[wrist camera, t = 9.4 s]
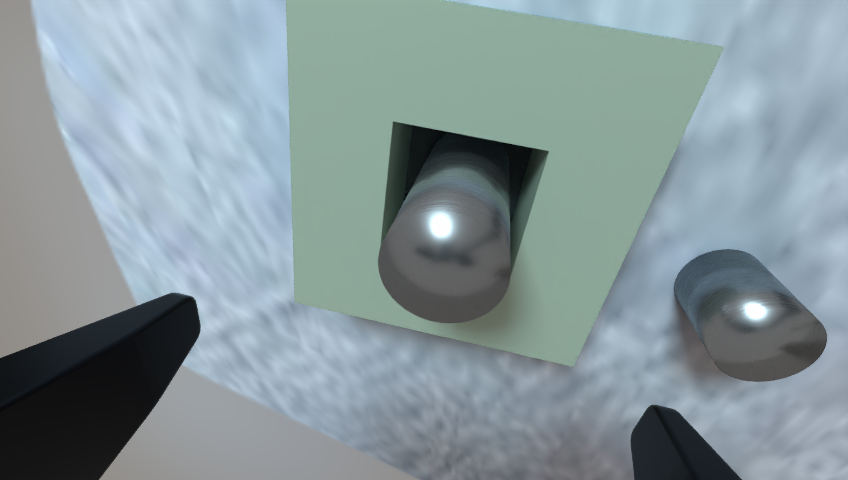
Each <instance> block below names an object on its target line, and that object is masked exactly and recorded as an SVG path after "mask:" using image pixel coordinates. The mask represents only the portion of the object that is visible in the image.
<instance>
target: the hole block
mask: <svg viewBox="0 0 848 480" xmlns="http://www.w3.org/2000/svg"><path fill="white" fill-rule="evenodd" d="M286 17H287V51H288V86H289V120H290V155H291V189H292V224H293V258H294V293H295V303H300V304H304V305H308V306H313V307H317V308H321V309H325V310H330V311H334V312H338V313H343V314H347V315H351V316H356V317H360V318H364V319H369V320H373V321H377V322H382V323H386V324H390V325H394V326H399V327H403V328H407V329H412V330H416V331H420V332H425V333H429V334H433V335H438V336H442V337H446V338H451V339H455V340H459V341H463V342H468V343H472V344H476V345H481V346H485V347H489V348H494V349H498V350H502V351H507V352H511V353H515V354H520V355H524V356H528V357H533V358H537V359H541V360H545V361H550V362H554V363H558V364H563V365H567V366H571V367H574V365H575V362H576V360H577V358H578V356H579V354H580V352H581V350H582V348H583V346H584V343H585V341H586V339H587V337H588V335H589V333H590V331H591V329H592V326H593V324H594V322H595V320H596V318H597V316H598V314H599V312H600V310H601V307H602V305H603V303H604V301H605V299H606V297H607V295H608V293H609V290H610V288H611V286H612V284H613V282H614V280H615V278H616V276H617V274H618V271H619V269H620V267H621V265H622V263H623V261H624V259H625V257H626V254H627V252H628V250H629V248H630V246H631V244H632V242H633V240H634V238H635V235H636V233H637V231H638V229H639V227H640V225H641V223H642V221H643V218H644V216H645V214H646V212H647V210H648V208H649V206H650V204H651V201H652V199H653V197H654V195H655V193H656V191H657V189H658V187H659V185H660V182H661V180H662V178H663V176H664V174H665V172H666V170H667V168H668V165H669V163H670V161H671V159H672V157H673V155H674V153H675V151H676V149H677V146H678V144H679V142H680V140H681V138H682V136H683V134H684V132H685V129H686V127H687V125H688V123H689V121H690V119H691V117H692V115H693V113H694V110H695V108H696V106H697V104H698V102H699V100H700V98H701V96H702V93H703V91H704V89H705V87H706V85H707V83H708V81H709V79H710V77H711V74H712V72H713V70H714V68H715V66H716V64H717V62H718V60H719V57H720V55H721V53H722V51H723V49H724V47H721V46H715V45H710V44H704V43H698V42H693V41H687V40H681V39H676V38H670V37H664V36H658V35H652V34H645V33H639V32H633V31H627V30H621V29H615V28H609V27H603V26H597V25H591V24H585V23H578V22H572V21H566V20H560V19H554V18H548V17H542V16H536V15H530V14H524V13H518V12H511V11H505V10H499V9H493V8H487V7H481V6H475V5H469V4H463V3H457V2H451V1H445V0H286ZM413 125H415V126H420V127H425V128H431V129H436V130H441V131H446V132H452V133H457V134H462V135H467V136H473V137H478V138H483V139H488V140H494V141H499V142H504V143H509V144H515V145H520V146H525V147H530V148H532V151H531V155H530V158H529V162H528V165H527V169H526V172H525V176H524V180H523V183H522V187H521V190H520V194H519V197H518V201H517V204H516V208H515V211H514V215H513V218H512V222H511V225H510V256H511V275H510V282H509V287H508V289H507V292H506V294H505V295H504V297H503V299H502V300H501V301H500V303H499V304H498V305H497V306H496V307H495V308H494V309H493V310H491V311H490V312H488V313H487V314H485V315H483V316H481V317H479V318H477V319H474V320H471V321H467V322H462V323H439V322H433V321H429V320H426V319H423V318H420V317H418V316H416V315H414V314H412V313H410V312H408V311H407V310H405V309H404V308H403V307H401V306H400V305H399V304H398V303H397V302H396V301H395V300H394V299H393V298H392V297H391V296H390V294H389V293H388V292H387V290H386V288H385V287H384V285H383V283H382V280H381V278H380V274H379V269H378V256H379V250H380V247H381V245H382V242H383V240H384V239H385V237H386V235H387V233H388V231H389V229H390V227H391V225H392V223H393V222H394V220H395V218H396V216H397V214H398V212H399V210H400V208H401V207H402V205H403V201H404V194H405V186H406V178H407V170H408V162H409V154H410V146H411V138H412V130H413Z"/></svg>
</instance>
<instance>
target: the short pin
mask: <svg viewBox="0 0 848 480" xmlns="http://www.w3.org/2000/svg"><path fill="white" fill-rule="evenodd" d="M674 292H675V296H676V298H677V300H678V301H679V303H680V305H681V307H682V308H683V310H684V312H685V313H686V315H687V317H688V318H689V320H690V322H691V324H692V325H693V327H694V329H695V330H696V332H697V334H698V336H699V337H700V339H701V341H702V342H703V344H704V346H705V347H706V349H707V351H708V353H709V354H710V356H711V358H712V359H713V361H714V363H715V364H716V366H717V367H718V368H719V369H720V370H721V371H722V372H724V373H725V374H727V375H729V376H731V377H734V378H737V379H740V380H745V381H754V382H762V381H772V380H778V379H782V378H785V377H789V376H791V375H794V374H796V373H798V372H800V371H802V370H804V369H806V368H807V367H809V366H810V365H811V364H813V363H814V362H815V361H816V360H817V359H818V358H819V357H820V355H821V354H822V353H823V351H824V349H825V346H826V343H827V333H826V330H825V328H824V326H823V325H822V324H821V322H820V321H819V320H818V319H817V318H816V317H815V316H814V315H813V314H812V313H811V312H810V311H809V310H808V309H807V308H806V307H805V306H804V305H803V304H802V303H801V302H800V301H799V300H798V299H797V298H796V297H795V296H794V295H793V294H792V293H791V292H790V291H789V290H788V289H787V288H786V287H785V286H784V285H783V284H782V283H781V282H780V281H779V280H778V279H777V278H776V277H775V276H774V275H773V274H772V273H771V272H770V271H769V270H768V269H767V268H766V267H765V266H764V265H763V264H762V263H761V262H760V261H759V260H758V259H756V258H755V257H754V256H752V255H751V254H749V253H746V252H743V251H739V250H731V249H725V250H716V251H712V252H708V253H705V254H703V255H700V256H698V257H696V258H695V259H693V260H692V261H690V262H689V263H688V264H686V265H685V266H684V267H683V268H682V270H681V271H680V272H679V274H678V275H677V278H676V280H675V284H674Z"/></svg>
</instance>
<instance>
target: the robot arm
mask: <svg viewBox="0 0 848 480" xmlns="http://www.w3.org/2000/svg"><path fill="white" fill-rule="evenodd" d="M200 328H201V326H200V320H199V315H198V309H197V304H196V300H195V299H194V298H193V297H191V296H188V295H184V294H179V293H170V294H167V295H164V296H162V297H159V298H156V299H154V300H151V301H149V302H146V303H143V304H141V305H138V306H135V307H133V308H130V309H128V310H125V311H122V312H120V313H118V314H115V315H112V316H110V317H107V318H104V319H102V320H99V321H96V322H94V323H91V324H89V325H86V326H83V327H81V328H78V329H75V330H73V331H70V332H68V333H65V334H62V335H60V336H57V337H54V338H52V339H49V340H47V341H44V342H41V343H39V344H36V345H33V346H31V347H28V348H26V349H23V350H20V351H18V352H15V353H13V354H10V355H7V356H5V357H2V358H0V480H99V479H100V478H101V476H102V475H103V474H104V472H105V471H106V470H107V469H108V467H109V466H110V465H111V463H112V462H113V461H114V459H115V458H116V457H117V456H118V454H119V453H120V452H121V450H122V449H123V447H124V446H125V445H126V444H127V442H128V441H129V440H130V439H131V437H132V436H133V435H134V433H135V432H136V431H137V429H138V428H139V426H140V425H141V424H142V423H143V422H144V420H145V419H146V417H147V416H148V415H149V414H150V412H151V411H152V409H153V408H154V407H155V405H156V404H157V402H158V401H159V399H160V398H161V396H162V395H163V393H164V392H165V390H166V388H167V387H168V385H169V384H170V382H171V380H172V379H173V377H174V376H175V374H176V372H177V371H178V369H179V367H180V366H181V364H182V363H183V361H184V360H185V358H186V356H187V355H188V353H189V352H190V350H191V348H192V347H193V345H194V343H195V342H196V340H197V338H198V336H199V334H200ZM631 451H632V460H633V469H634V479H635V480H742V479H741V478H740V477H739V476H738V475H737V474H736V473H735V472H734V471H733V470H732V469H731V467H730V466H729V465H728V464H727V463H726V462H725V461H724V460H723V459H722V458H721V457H720V456H719V455H718V454H717V453H716V452H715V450H714V449H713V448H712V447H711V446H710V445H709V444H708V443H707V442H706V441H705V440H704V439H703V438H702V437H701V436H700V435H699V433H698V432H697V431H696V430H695V429H694V428H693V427H692V426H691V425H690V424H689V423H688V422H687V421H686V420H685V419H684V418H683V416H682V415H681V414H680V413H679V412H677V411H676V410H674V409H671V408H667V407H663V406H659V405H651V406H649V407H648V408H647V409H646V411H645V412H644V414H643V416H642V417H641V419H640V420H639V422H638V423H637V425H636V426H635V428H634V429H633V432H632V435H631Z"/></svg>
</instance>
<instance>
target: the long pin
mask: <svg viewBox="0 0 848 480" xmlns="http://www.w3.org/2000/svg"><path fill="white" fill-rule="evenodd" d="M378 269H379V274H380V278H381V280H382V283H383V285H384V287H385V288H386V290H387V292H388V293H389V294H390V296H391V297H392V298H393V299H394V300H395V301H396V302H397V303H398V304H399V305H400V306H401V307H403V308H404V309H405V310H407V311H408V312H410V313H412V314H414V315H416V316H418V317H420V318H423V319H426V320H429V321H433V322H439V323H462V322H467V321H471V320H474V319H477V318H479V317H481V316H483V315H485V314H487V313H488V312H490V311H491V310H493V309H494V308H495V307H496V306H497V305H498V304H499V303H500V301H501V300H502V299H503V297H504V295H505V294H506V292H507V289H508V287H509V282H510V275H511V256H510V191H509V161H508V156H507V154H506V151H505V149H504V148H503V146H502V145H501V143H500V142H499V141H494V140H488V139H483V138H478V137H473V136H467V135H462V134H457V133H452V132H449V133H447V134H446V135H444V136H443V137H441V138H440V139H439V140H438V141H437V142H436V144H435V145H434V146H433V148H432V150H431V152H430V154H429V156H428V158H427V159H426V161H425V163H424V165H423V167H422V169H421V171H420V173H419V174H418V176H417V178H416V180H415V182H414V184H413V186H412V188H411V190H410V191H409V193H408V195H407V197H406V199H405V201H404V203H403V205H402V207H401V208H400V210H399V212H398V214H397V216H396V218H395V220H394V222H393V223H392V225H391V227H390V229H389V231H388V233H387V235H386V237H385V239H384V240H383V242H382V245H381V247H380V250H379V256H378Z"/></svg>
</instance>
